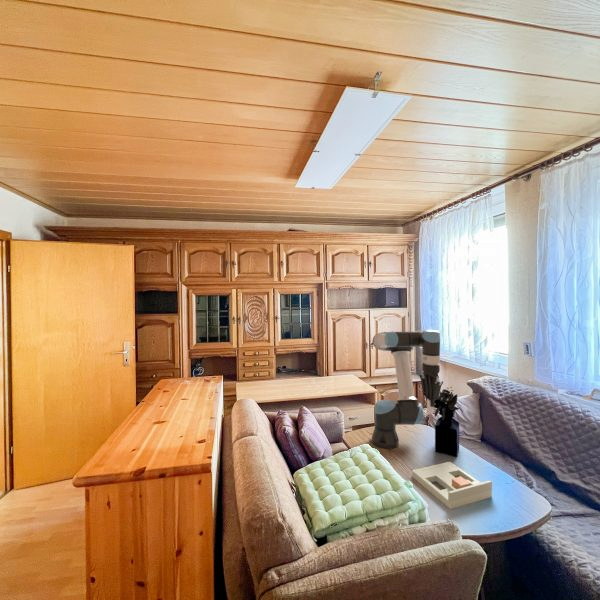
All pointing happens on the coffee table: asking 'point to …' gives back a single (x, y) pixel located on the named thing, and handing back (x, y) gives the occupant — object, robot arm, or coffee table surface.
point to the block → (460, 482)
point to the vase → (446, 424)
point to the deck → (441, 485)
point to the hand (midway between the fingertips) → (430, 412)
